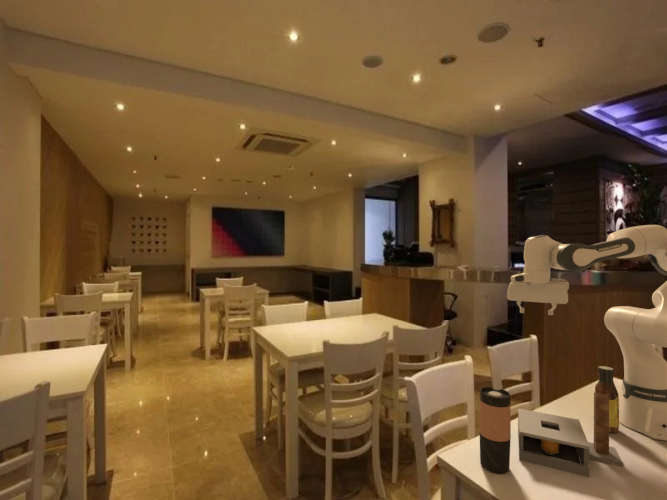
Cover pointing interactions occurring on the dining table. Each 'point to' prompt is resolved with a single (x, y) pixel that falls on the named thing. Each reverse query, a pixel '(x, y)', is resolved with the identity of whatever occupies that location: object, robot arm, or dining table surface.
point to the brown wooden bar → (601, 423)
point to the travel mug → (495, 430)
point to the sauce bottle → (609, 395)
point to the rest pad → (610, 458)
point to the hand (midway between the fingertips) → (536, 313)
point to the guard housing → (553, 440)
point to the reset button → (550, 446)
